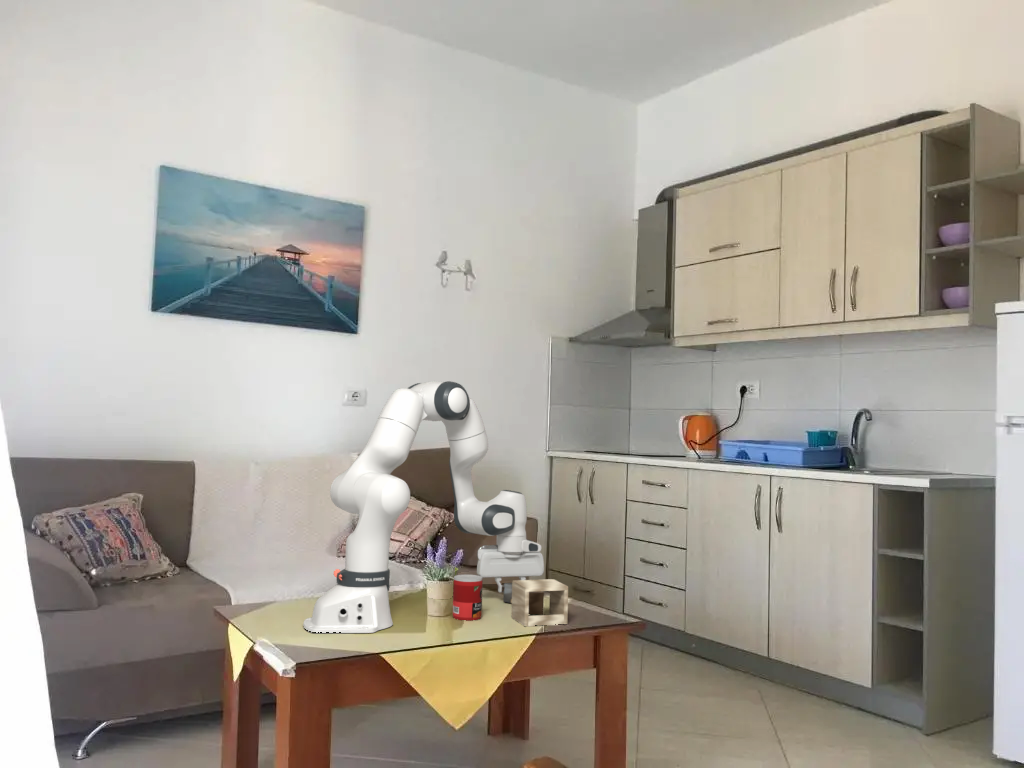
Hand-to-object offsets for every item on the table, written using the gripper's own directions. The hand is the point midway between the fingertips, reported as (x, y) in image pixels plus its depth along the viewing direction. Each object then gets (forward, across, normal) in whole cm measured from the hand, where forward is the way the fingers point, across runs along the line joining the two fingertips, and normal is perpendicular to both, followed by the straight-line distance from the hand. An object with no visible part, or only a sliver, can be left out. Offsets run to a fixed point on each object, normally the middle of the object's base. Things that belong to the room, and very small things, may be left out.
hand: (509, 591), depth 254 cm
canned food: (+3, -18, -18) cm, 26 cm away
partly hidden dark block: (+3, 0, -8) cm, 9 cm away
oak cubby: (+3, 0, -25) cm, 26 cm away
